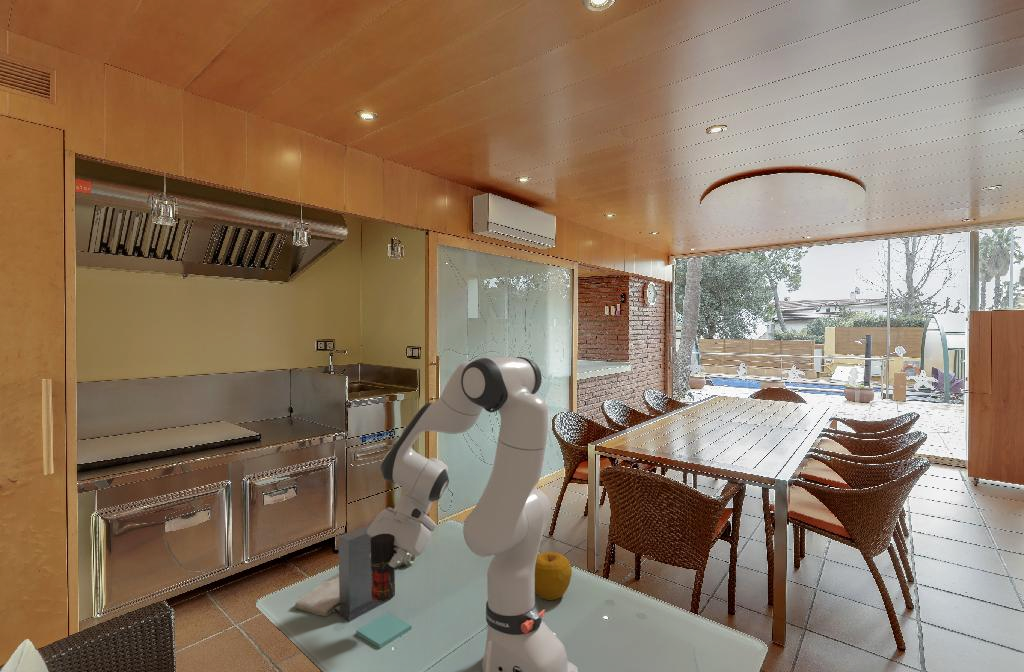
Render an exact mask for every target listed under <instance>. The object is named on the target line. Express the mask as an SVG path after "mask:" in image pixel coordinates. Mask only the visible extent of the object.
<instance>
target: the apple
mask: <svg viewBox="0 0 1024 672" xmlns="http://www.w3.org/2000/svg"><path fill="white" fill-rule="evenodd" d="M572 571H573V569H572V566H571V564H570V561H569V559H568V558H566V556H564V555H563V554H560V553H558V552H551V551H546V552H541V553H538V554H537V559H536V565H535V594H537V595H538V597H539V598H541V599H542V600H543V599H544V600H548V601H553V600H557V599H560V598H562V597H563V596H564V595H565V593H566V592H567V590H568V588H569V585H570V582H571V579H572V574H573V572H572Z"/></svg>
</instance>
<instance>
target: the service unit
mask: <svg viewBox="0 0 1024 672" xmlns="http://www.w3.org/2000/svg"><path fill="white" fill-rule="evenodd" d="M371 524H372V523H370V524H368V525H364V526H362V527H359V528H356V529H354V530H351V531H349V532H346V533H343V534H340V535H338V536H337V537H338V540H337V541H338V576H339V598H340V605H339V606H337V607H335V608H334V610H335V611H334V614H335V615H337V616H338V617H340V618H342V619H343V620H344V621H347V622H349V623H350V622H351V621H354V620H355V619H358V618H359V617H361V616H363V615H364V614H367V613H368V612H370V611H372V610H374V609H376V608H378V607H380V606H382V605H383V604H385V603H387V602H389V601H390V600H392V599H390V600H387V601H382V602H377V601H374V600H373V599H372V589H371V557H370V553H371V537H370V536H369V535H367V530H368V528H369V527H370V525H371Z"/></svg>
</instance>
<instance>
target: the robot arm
mask: <svg viewBox="0 0 1024 672" xmlns="http://www.w3.org/2000/svg"><path fill="white" fill-rule="evenodd" d="M542 380H543V379H542V372H541V369H540V368H539V366H538V364H537V363H536V362H535V361H533V360H531V359H530V358H527V357H523V356H516V357H514V356H504V355H502V356H493V357H487V358H486V357H481V358H478V359H475V360H473V361H464V362H461V363H460V364H459V365H458V366H457V367H456V369H455V370H454V372H452V374H451V376H450V378H449V379H448V381H447V383H446V384H445V386H444V388H443V390H442V393H441V395H440V397H439V398H438V399H437V400H436V401H434V402H427V403H425V404H424V405H423V406H422V407H421V408H419V410H418V411H417V413H416V414H415V415H414V416H413V418H412V419H411V421H410V422H409V424H408V425H407V426H406V428H405V429H404V430H403V432H402V433H401V435H400V436H399V438H398V439H397V440H396V442H395V443H394V445H393V446H392V447H391V448H390V449H389V450H388V451H387V452H386V454H385V456H384V457H383V459H382V461H381V464H380V467H379V468H380V471H381V472H380V473H381V475H382V477H383V479H384V480H386V481H387V482H390V483H393V484H396V485H397V486H400V487H402V488H403V489H405V490H406V491H405V492H403V494H402V495H401V497H400V499H399V500H398V501H397V504H396V505H395V507H394V508H393V507H390V506H388V507H387V508H385V509H383V510H382V511H381V512H379V514H378V515H377V516H376V517H375V518H374V520H373V521H372V522H371V523H370V524H371V525H370V524H369V525H370V527H369V528H368V530H367V535H369V536H370V537H371V538H372V537H374V536H376V535H379V534H391V535H393V536H394V548H397V551H396V552H397V553H396V554H395V555H394V556H393V557H392V558H391V557H390V558H389V559H388V561H387V565H389V566H390V567H394V566H395V565H396V563H397V561H399V560H400V559H401V558H403V557H404V556H405V554H406V552H407V553H409V554H412V555H414V556H416V557H419V556H420V555H422V554H423V553H424V550H425V549H426V547H427V545H428V543H429V542H430V539H431V536H432V532H434V531H435V529H436V527H437V524H436V523H435V521H434V520H433V519H431V517H430V516H429V515H428V514H429V512H430V510H431V506H432V504H433V503H434V502H435V501H438V500H440V499H441V497H442V495H443V493H444V492H445V490H446V488H447V487H448V485H449V483H450V479H449V467H448V465H447V464H446V463H445V462H444V461H443V460H441V459H440V458H436V457H429V458H427V457H425V456H424V455H421V454H420V453H418V452H416V451H415V450H414V449H413V445H414V444H415V443H416V441H417V440H418V438H419V437H420V435H421V434H422V433H423V432H437V433H443V434H448V435H455V434H456V435H457V434H461V433H465V432H467V431H469V430H470V429H471V428H473V426H474V425H475V424H476V422H477V421H478V418H479V417H480V415H481V413H482V410H483V409H484V410H485V411H486V412H487V413H494V412H497V411H498V414H499V416H500V427H499V432H498V436H497V437H498V438H497V443H496V444H497V445H496V450H495V456H494V462H493V465H492V470H491V473H490V474H489V475H490V476H489V479H488V481H487V483H486V485H485V487H484V490H483V492H482V494H481V496H480V498H479V500H478V502H477V503H476V505H475V506H474V508H473V509H472V510H471V511H470V512H469V514H467V517H466V518H465V520H464V522H463V526H462V527H463V528H462V531H463V533H462V534H463V538H464V542H465V544H466V546H467V548H468V549H469V550H470V551H471V552H472V553H473V554H474V555H475V556H478V557H482V558H485V557H491V556H493V557H492V559H491V561H490V563H489V565H488V567H487V572H486V577H487V578H486V580H487V582H486V583H487V584H486V585H487V601H486V603H485V620H486V621H485V622H486V624H487V629H486V630H487V632H486V642H485V649H484V654H483V658H482V660H481V668H482V671H484V672H579V669H578V667H577V666H576V665H575V664H574V663H572V662H570V661H569V660H568V655H567V651H566V647H565V644H563V642H562V641H561V640H560V639H559V638H558V636H557V634H556V633H555V632H554V631H552V630H551V629H550V628H549V627H548V626H547V624H546V623H545V622H544V621H543V617H544V616H545V614H546V612H545V611H546V609H542V610H541V611H540V608H539V605H538V602H537V600H536V592H535V565H536V559H537V555H538V554H539V549H540V544H541V541H542V537H543V534H544V532H545V530H546V526H547V525H548V523H549V521H550V519H551V516H552V504H551V502H550V500H549V497H548V496H547V495H546V493H544V492H543V490H540V489H539V488H535V487H536V485H537V484H538V483H539V480H540V478H541V477H542V476H541V475H542V472H543V471H542V470H543V464H544V458H545V452H546V446H547V440H548V439H547V438H548V430H549V429H548V428H549V427H548V426H549V411H548V410H549V409H548V405H547V403H546V401H545V400H544V399H543V398H542V397H541V396H539V395H536V393H537V392H538V391H539V389H540V388H541V385H542ZM370 557H371V553H370Z"/></svg>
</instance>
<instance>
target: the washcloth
mask: <svg viewBox="0 0 1024 672" xmlns="http://www.w3.org/2000/svg"><path fill="white" fill-rule="evenodd" d="M339 605H340V598H339V575H337V576H336V577H334V578H332V579H330V580H328V581H326V580H325V581H324V582H322V584H320V585H318V586H317V587H315V588H313V589H312V590H310V591H309V592H308V593H306V594H304V595H303V596H301V597H299V599H298V600H297V601H295V604H294V607H295V609H297V610H299V609H300V611H303V610H304V611H303V612H308V613H312V612H313V613H314V614H313V613H312V614H313V615H319V616H320V615H322V616H321V617H328V616H329V615H331V614H332V613H333V612H335V610H334V608H335V607H337V606H339Z"/></svg>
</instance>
